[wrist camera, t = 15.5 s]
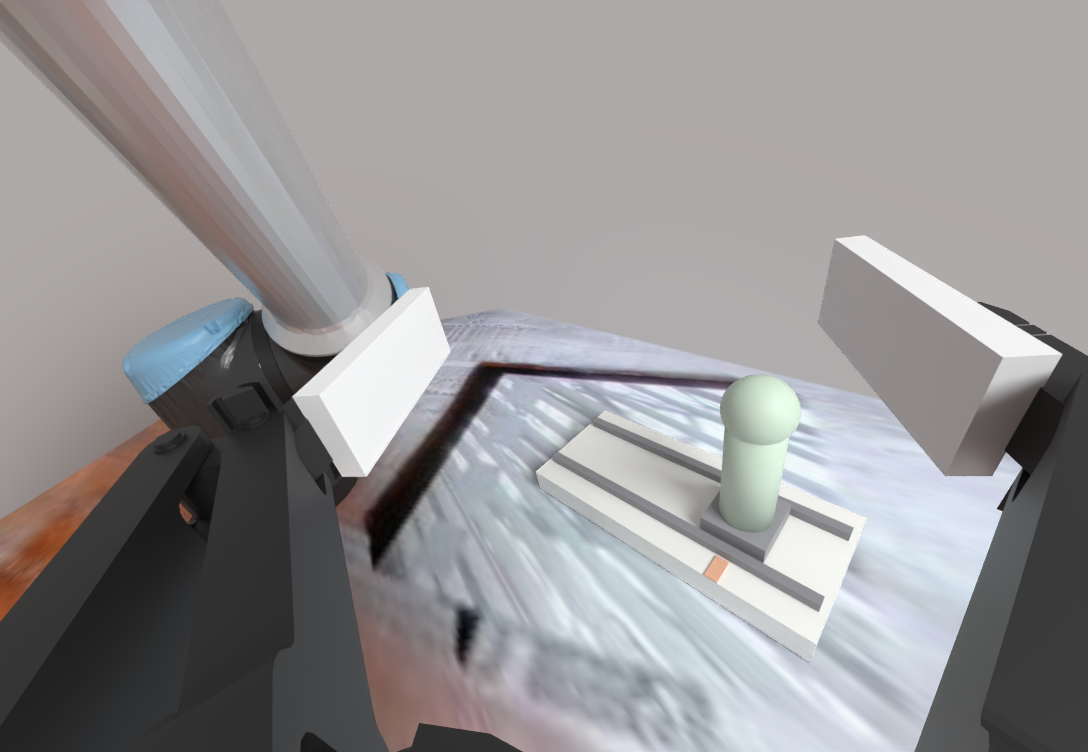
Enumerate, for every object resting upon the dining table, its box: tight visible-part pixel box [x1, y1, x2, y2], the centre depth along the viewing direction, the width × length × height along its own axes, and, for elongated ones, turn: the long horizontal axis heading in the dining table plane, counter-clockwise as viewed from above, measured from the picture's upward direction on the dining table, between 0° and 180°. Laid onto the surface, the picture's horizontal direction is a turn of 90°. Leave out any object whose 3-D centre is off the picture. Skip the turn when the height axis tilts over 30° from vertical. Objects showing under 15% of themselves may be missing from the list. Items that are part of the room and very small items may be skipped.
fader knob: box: [700, 375, 801, 563], centre depth 30 cm, size 5×5×14 cm
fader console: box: [536, 411, 867, 663], centre depth 39 cm, size 26×12×3 cm, turn 46°
